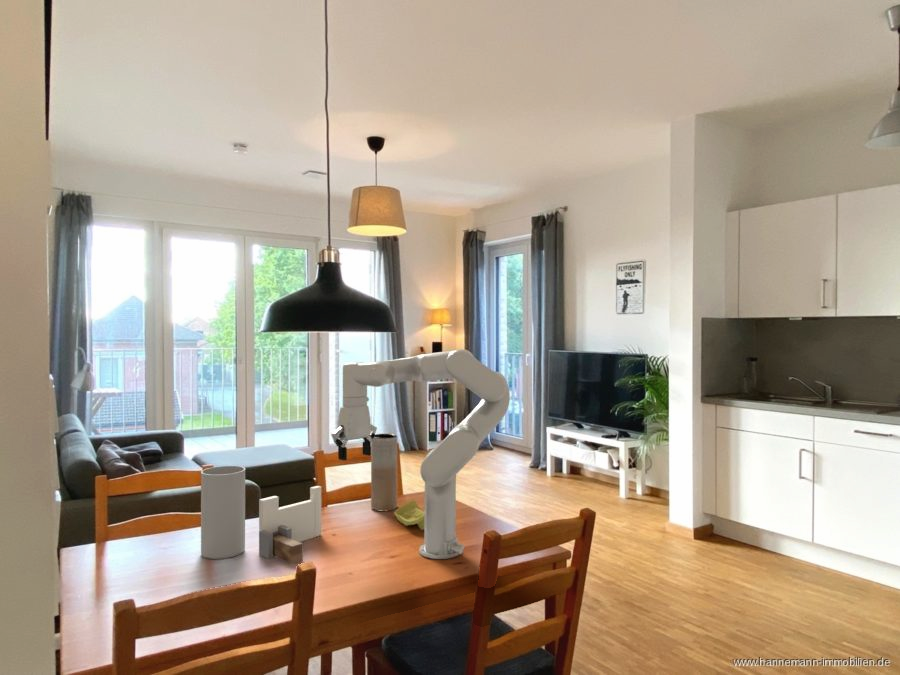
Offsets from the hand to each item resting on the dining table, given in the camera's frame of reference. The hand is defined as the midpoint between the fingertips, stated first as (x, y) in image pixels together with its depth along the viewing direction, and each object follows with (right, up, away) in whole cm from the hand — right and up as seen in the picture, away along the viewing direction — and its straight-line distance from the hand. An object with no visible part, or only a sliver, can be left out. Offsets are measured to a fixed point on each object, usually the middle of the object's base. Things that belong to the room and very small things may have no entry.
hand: (354, 457), depth 180 cm
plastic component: (+18, -29, +24) cm, 41 cm away
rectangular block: (-20, -28, -7) cm, 35 cm away
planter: (+4, -29, +44) cm, 52 cm away
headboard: (-19, -28, +3) cm, 34 cm away
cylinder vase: (-39, -29, -3) cm, 49 cm away
